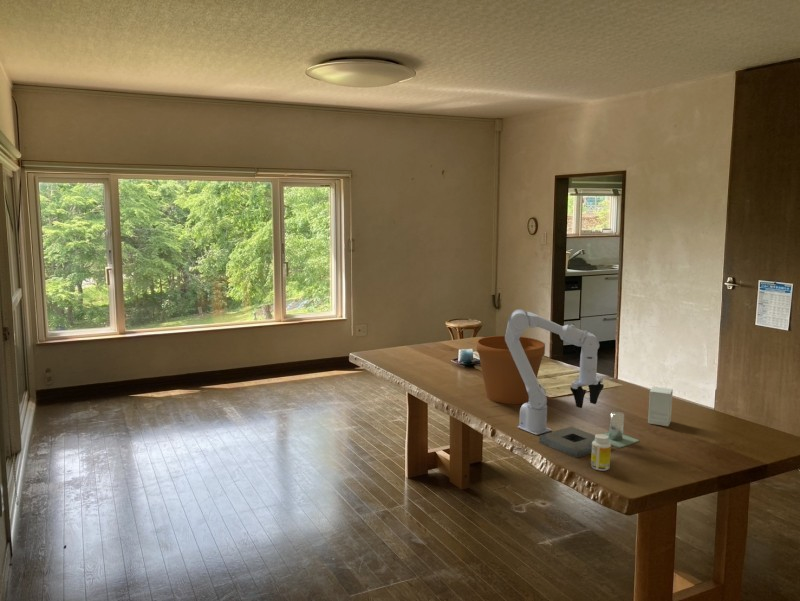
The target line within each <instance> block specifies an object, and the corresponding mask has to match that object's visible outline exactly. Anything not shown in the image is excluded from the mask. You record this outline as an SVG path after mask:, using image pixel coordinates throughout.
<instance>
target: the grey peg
mask: <svg viewBox="0 0 800 601" xmlns="http://www.w3.org/2000/svg"><path fill="white" fill-rule="evenodd" d="M609 416H610V417H609V429H608V430H609V431H608V432H609V439H610V440H613V441H622V440H623V435H624V423H625V421H624V420H625V414H624V412H621V411H611V412H610V414H609Z"/></svg>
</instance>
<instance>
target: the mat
mask: <svg viewBox="0 0 800 601" xmlns="http://www.w3.org/2000/svg"><path fill="white" fill-rule="evenodd" d="M603 434H604V435H607V436H608V437H609V431H607V432H605V433H603ZM609 442H610V444H611V447H612V446H613V447H615V448H618V449H621V448H624V447H627V446H630V445H633V444H636V443H639V442H640V439H638V438H634V437H631V436H628V435H625V434H623V440H622V441H613V440H610V439H609Z"/></svg>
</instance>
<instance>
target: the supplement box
mask: <svg viewBox="0 0 800 601" xmlns="http://www.w3.org/2000/svg"><path fill="white" fill-rule="evenodd" d="M673 391H674V390H673V388H667V387H659V386H652V387H651V389H650V390H649V397H648V399H649V401H648V417H647V423H648V424H651V425H655V426H656V425H657V426H663V427H669V426H670V424H671V421H672V409H673V408H672V406H673V393H674V392H673Z"/></svg>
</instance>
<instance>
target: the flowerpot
mask: <svg viewBox="0 0 800 601" xmlns="http://www.w3.org/2000/svg"><path fill="white" fill-rule="evenodd" d="M519 341H520V343H521V345H522V347H523V350H524V352H525V354H526V356H527V359H528V361H529V363H530V365H531V367H532V370H533V372H534V374H535V376H536V378H538V375H539V371H540V367H541V363H542V360H543V356H544V355H545V354H546V342H544V341H542V340H539V339H535V338H532V337H525V336H520V338H519ZM476 352H477V353H478V357H479V358H478V359H479V363H480V368H481V373H482V377H483V378H482V379H483V382H484V388H485V392H486V393H485V394H486V398H487V399H488V400H490V401H493V402H496V403H498V404H499V403H500V404H506V405H517V404H518V405H519V404H524V403H528V402H529V395H528V392H527V390H526V386H525V384H524V382H523V379H522V377H521V375H520V373H519V370H518V368H517V366H516V364H515V361H514V359H513V357H512V355H511V353H510V350H509V348H508V346H507V344H506V341H505V335H493V336H492V335H491V336H486V337H481V338H479V339H477V340H476Z"/></svg>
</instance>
